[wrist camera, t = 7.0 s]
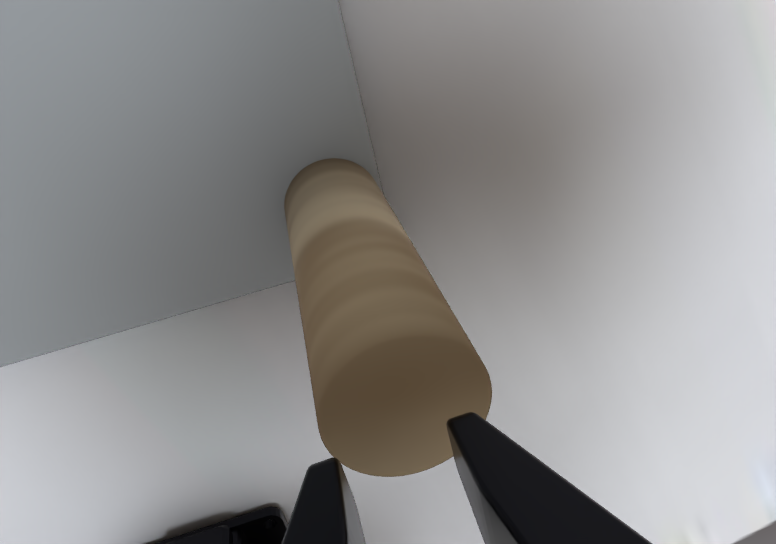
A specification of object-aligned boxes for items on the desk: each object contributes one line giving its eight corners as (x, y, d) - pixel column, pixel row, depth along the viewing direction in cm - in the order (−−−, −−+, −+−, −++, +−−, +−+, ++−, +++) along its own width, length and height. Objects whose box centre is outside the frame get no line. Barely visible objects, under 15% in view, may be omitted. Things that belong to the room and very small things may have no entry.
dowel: (389, 234, 18) (501, 445, 10) (300, 260, 18) (343, 497, 10) (368, 146, 16) (479, 312, 9) (271, 173, 16) (294, 369, 8)
